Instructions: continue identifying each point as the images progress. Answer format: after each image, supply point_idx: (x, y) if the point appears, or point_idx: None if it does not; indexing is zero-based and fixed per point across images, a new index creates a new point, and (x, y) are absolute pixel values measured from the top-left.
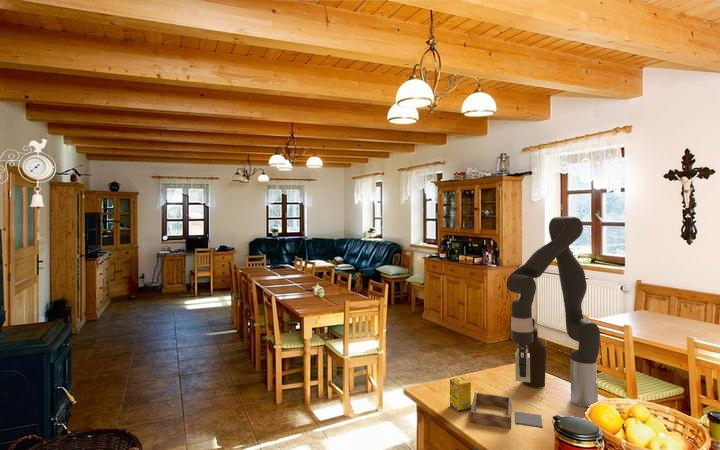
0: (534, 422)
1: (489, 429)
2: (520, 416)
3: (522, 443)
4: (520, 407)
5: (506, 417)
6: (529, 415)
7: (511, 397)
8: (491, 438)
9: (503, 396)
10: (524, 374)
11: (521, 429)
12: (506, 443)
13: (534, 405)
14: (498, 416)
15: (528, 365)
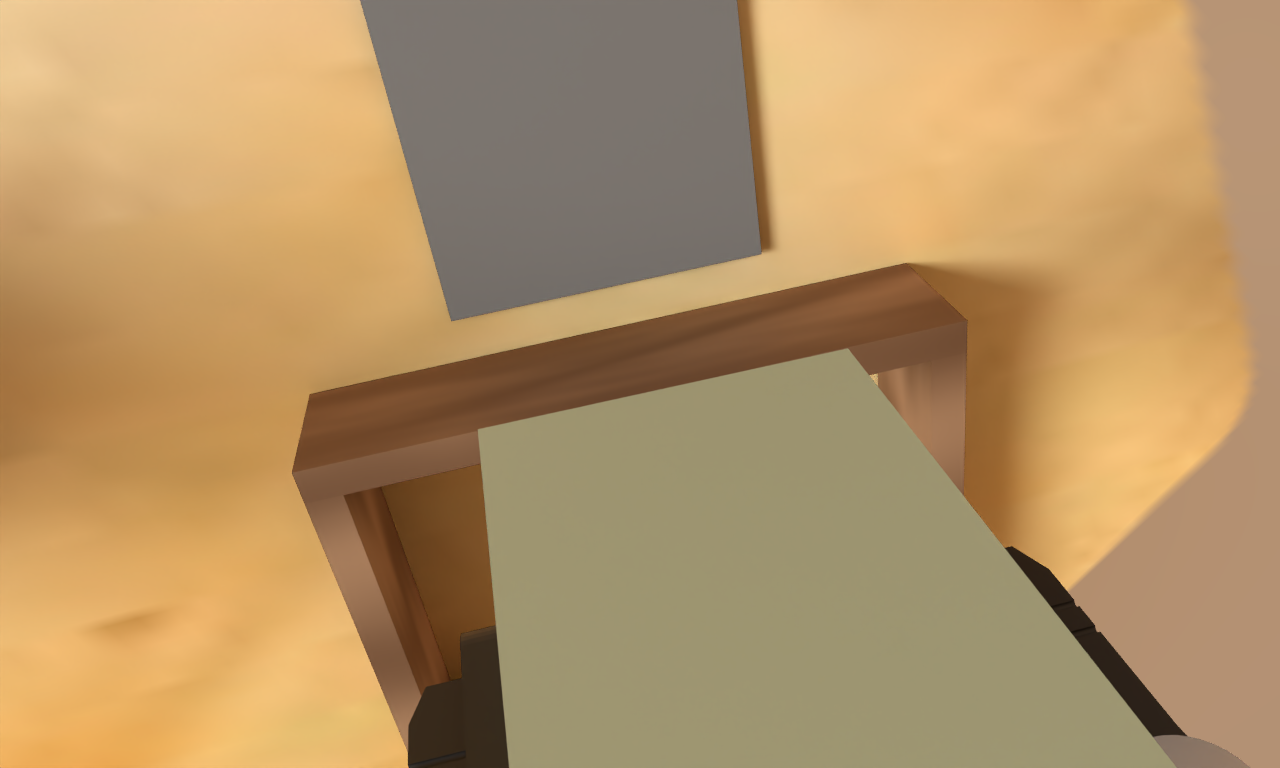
0: (661, 37)
1: (988, 436)
2: (568, 238)
3: (1200, 81)
4: (243, 298)
5: (961, 366)
6: (472, 138)
7: (312, 469)
8: (1158, 372)
9: (348, 558)
10: (1061, 593)
11: (880, 156)
12: (1227, 229)
13: (17, 136)
14: (960, 445)
15: (1129, 748)
